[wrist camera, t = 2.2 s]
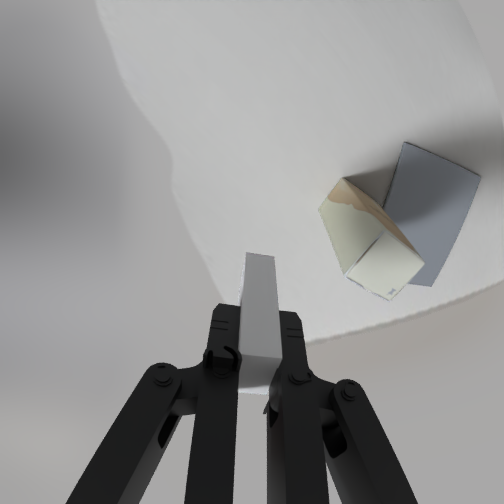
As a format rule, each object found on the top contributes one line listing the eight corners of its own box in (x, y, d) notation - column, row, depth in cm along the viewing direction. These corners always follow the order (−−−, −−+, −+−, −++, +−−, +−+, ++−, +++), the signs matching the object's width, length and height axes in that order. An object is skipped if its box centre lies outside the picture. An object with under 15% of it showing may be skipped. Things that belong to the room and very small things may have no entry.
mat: (404, 142, 23) (405, 142, 22) (478, 176, 23) (480, 177, 23) (356, 274, 31) (357, 276, 31) (430, 284, 32) (431, 286, 32)
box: (377, 202, 26) (429, 265, 17) (353, 234, 28) (390, 305, 19) (339, 174, 25) (385, 229, 16) (314, 209, 27) (342, 279, 18)
